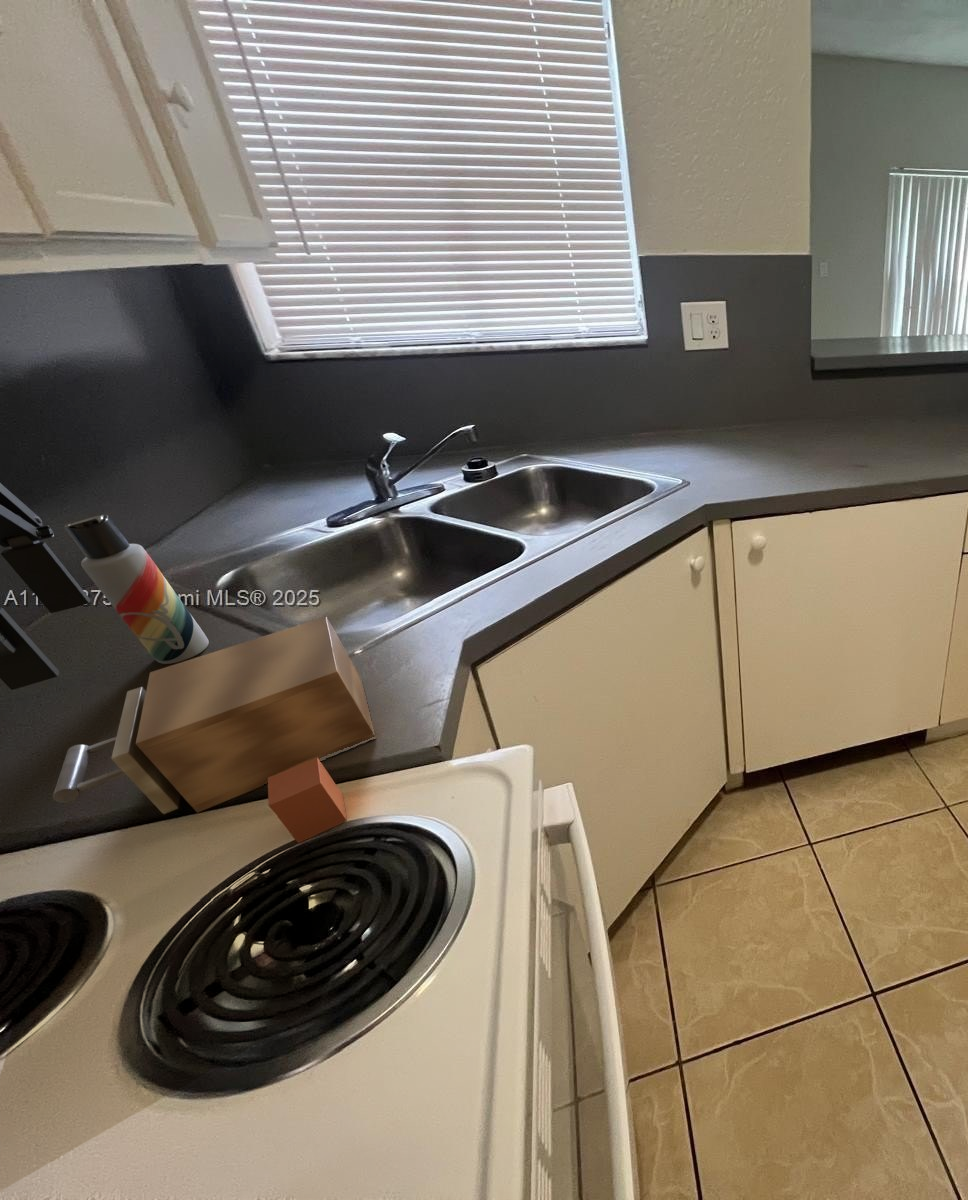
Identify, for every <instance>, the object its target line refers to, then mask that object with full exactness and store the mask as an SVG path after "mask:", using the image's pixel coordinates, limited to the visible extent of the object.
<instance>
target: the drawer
mask: <svg viewBox="0 0 968 1200" xmlns="http://www.w3.org/2000/svg"><path fill="white" fill-rule="evenodd" d="M145 695H146V689H145V688H144V687H143V686H139V687H137V688H133V689H130V690H127V691H126V695H125V700H124V704H123V708H122V712H121V715H120V721H119V724H118V730H117V732H116V736H115V737H112V738H109V739H106V740H103V741H100V742H98V743H94V744H92V745H87V744H75V745H72V746H70V747H69V748H68V749H67V751H66V754H65V756H64V760H63V764H62V766H61V768H60V773H59V776H58V779H57V782H56V784H55V789H54V790H53V794H52V799H53V801H55V802H57V803H59V804H66V803H67V804H68V803H71V802H74V801H75V800H77V799H78V798H79V797H80V794H81V793H82V792H84V791H87V790H90V789H93V788H95V787H97V786H101V785H103V784H106V783H108V782H111V781H113V780H116V779H119V778H121V777H124V776H126V777H128V779H130V781H132V782H133V784H134V785H135V786H136V787H137V788H138V789H139V790H140V791H141V792H142V793H143V794H144V795H145V796H146V797H147V798H148V800H149V801H150V802H151V803H152V804H153V805H154V806H155V807H156V809H158V810H159V812H160V813H162V814H163V815H166V814H168V813H170V812H173V811H175V810H178V809H179V808H180V797H181V794H180V793H179V792H178V791H177V790H176V788H175V787H174V786H173V785H172V784H171V783H170V782H169V781H168V779H167V778H166V777H165V776H164V775H163V774H162V773H161V772H160V770H159V769H158V768H157V767H156V766H155V765H154V764H153V763H152V762H151V760H150V759H149V758H148V757H147V756H146V755H145V754H144V753H143V751H142V750H141V749H140V748H139V747H138V746H137V745H136V739H137V734H138V729H139V724H140V720H141V715H142V710H143V705H144V700H145ZM112 747H113V749H112V754H111V758H110V759H111V760H112V761H113V762H114V764H116V766H117V767H118V768H117V769H115V770H112V771H109V772H107V773H104V774H101V775H99V776H97V777H93V778H91V779H88V780H85V781H84V779H85V776H86V773H87V770H88V769H87V768H88V765H89V762H90V758H91V755H92V754H94V753H97V752H100V751H103V750H106V749H108V748H112Z"/></svg>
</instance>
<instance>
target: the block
mask: <svg viewBox="0 0 968 1200" xmlns="http://www.w3.org/2000/svg"><path fill="white" fill-rule="evenodd" d="M343 794H344V793H342V792H341V790H340V789H339V787H338V785H337V784H336V782H335V781H334V780H333V778H332V777H331V775H330V774H329V772H328V771H327V769H326V768H325V766H324V765H323V763H322V762H320V760H319V759H318V758H315V759H312V760H310V761H307V762H305V763H302V764H300V765H298V766H295V767H293V768H290V769H288V770H285V771H283V772H281V773H278V774H276V775H273V776H271V777H268V784H267V799H268V801H267V802H268V807H269V808H270V809H271V811H272V812H273V813H274V814H275V816H276V818H278V819H279V821H280V822H281V823H282V825H283V826H284V827H285V829H287V831H288V832H289V833H290V835H291V836H292V838H293V839H294V840H295V841H296V843H297V844H299V843H302V842H304V841H306V840H308V839H311V838H313V837H315V836H318V835H319V834H321V833H324V832H326V831H328V830H331V829H333V828H335V827H337V826H339V825H341V824H343V823H345V822H347V821H348V819H347V818H348V817H347V812H346V807H345V800H344V795H343Z"/></svg>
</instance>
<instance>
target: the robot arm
mask: <svg viewBox="0 0 968 1200" xmlns="http://www.w3.org/2000/svg"><path fill="white" fill-rule="evenodd" d="M54 537H55V533H54V531H53V529H52V528H51V527H50V526H49V525H44V526H43V520H42V519H41V517H39V516H38V515H37V514H36V513H35V512H34V511H32V509H30V508H29V507H28V505H26V504H25V503H24V502H22V501H21V500H20V499H19V498H18V497H17V496H16V495H15V494H13V492H11V491H10V490H9V489H8V488H7V487H6V486H4V485H3V484H2V483H1V482H0V546H1V547H3V548H8V549H5V550H2V551H1V553H0V555H1V556H2V558H3V559H4V560H5V561H6V562H7V563H8V565H9V566H10V567H11V569H13V571H14V572H15V573H16V574H17V575H18V576H19V578H20V579H21V580H22V581H23V582H24V583H25V584H26V586H27V587H28V588H29V589H30V591H31V592H32V593H33V594H34V595H35V596H36V598H37V599H38V600H39V601H40V602H41V604H42V605H43V606H44V607H45V608H46V609H47V610H48V611H49V613H50V614H55V613H59V612H62V611H66V610H69V609H70V610H71V609H73V608H78V607H82V606H86V605H89V604H91V602H92V599H91V598H90V597H89V596H88V594H87V593H86V592H85V591H84V590H83V588H82V587H81V586H80V584H79V583H78V582H77V581H76V579H75V578H74V577H73V576H72V574H71V573H70V572H69V570H68V569H67V568H66V567H65V565H64V564H63V563H62V562H61V561H60V559H59V558H58V557H57V556H56V554H55V553H54V552H53V550H52V549H51V548H50V547H49V546H48V544H47V542H45V541H42V540H46V539H51V538H54ZM10 547H11V548H10ZM59 675H60V670H59V669H58V668H57V666H55V664H54V663H52V661H50V659H49V658H48V657H47V656H46V654H44V653H43V651H42V650H41V649H40V648H39V647H38V646H37V645H36V643H35V642H34V641H33V640H32V639H31V638H30V637H29V636H28V635H27V634H26V632H25V631H24V630H23V629H22V628H21V627H20V626H19V625H18V623H17V622H16V621H15V620H14V619H13V618H12V616H10V614H9V613H8V612H7V611H6V610H5V609H4V608H3V607H0V680H1V681H2V682H3V683H4V684H5V685H6V686H7V687H8V688H9V689H10V690H11V691H15V690H16V689H20V688H24V687H27V686H31V685H33V684H37V683H40V682H44V681H48V680H51V679H54V678H57V677H59Z"/></svg>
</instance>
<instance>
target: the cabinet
mask: <svg viewBox="0 0 968 1200" xmlns="http://www.w3.org/2000/svg"><path fill="white" fill-rule="evenodd" d="M361 679H362V677H361V675H360V673H359V672H358V670H357V669H356V666H355V664H354V663H353V661H352V659H351V657H350V655H349V654H348V652H347V651H346V648H345V647H344V645H343V643H342V642H341V640H340V638H339V635H338V634H337V633H336V631H335V629H334V627H333V626H332V623H331V622H330V620H329V618H328V617H327V616H323V617H319V618H316V619H314V620H310V621H307V622H303V623H300V624H298V625H295V626H292V627H288V628H285V629H282V630H279V631H275V632H272V633H270V634H266V635H263V636H260V637H257V638H256V637H255V638H254V639H250V640H247V641H245V642H241V643H238V644H234V645H231V646H227V647H225V648H221V649H220V650H216V651H213V652H210V653H206V654H203V655H201V656H197V657H193V658H190V659H187V660H184V661H181V662H177V663H174V664H172V665H168V666H165V667H162V668H160V669H156V670H154V671H150V672H149V676H148V681H147V685H146V689H145V691H146V695H145V700H144V705H143V710H142V715H141V720H140V724H139V729H138V734H137V739H136V745H137V746H138V747H139V748H140V749H141V750H142V751H143V753H144V754H145V755H146V756H147V757H148V758H149V759H150V760H151V762H152V763H153V764H154V765H155V766H156V767H157V768H158V769H159V770H160V772H161V773H162V774H163V775H164V776H165V777H166V778H167V779H168V781H169V782H170V783H171V784H172V785H173V786H174V787H175V788H176V790H177V791H178V792H179V793H180V796H181V797H182V798H183V799H184V800H185V801H186V802H187V804H189V806H190V807H192V809H193V810H194V811H195V812H196V813H197V814H198V813H202V812H203V811H206V810H208V809H210V808H213V807H215V806H218V805H221V804H223V803H226V802H227V801H230V800H232V799H234V798H237V797H239V796H242V795H245V794H246V793H249V792H252V791H254V790H256V789H259V788H261V787H263V786H265V785H264V784H265V783H267V782H268V777H271V776H273V775H276V774H278V773H281V772H283V771H285V770H288V769H290V768H293V767H295V766H298V765H300V764H302V763H305V762H307V761H310V760H312V759H315V758H318V759H320V758H322V757H324V756H327V755H328V754H332V753H334V752H337V751H339V750H343V749H344V748H347V747H351V746H353V745H355V744H358V743H360V742H362V741H365V740H368V739H370V738H372V737H375V734H376V732H375V733H374V730H375V728H374V729H373V726H374V724H373V725H372V722H373V720H372V721H371V718H372V715H371V716H370V714H371V711H370V712H369V710H370V707H369V708H368V706H369V703H368V704H367V702H368V699H367V700H366V698H367V695H366V696H365V694H366V691H365V692H364V690H365V687H364V688H363V686H364V683H363V684H362V682H363V679H362V680H361Z"/></svg>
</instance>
